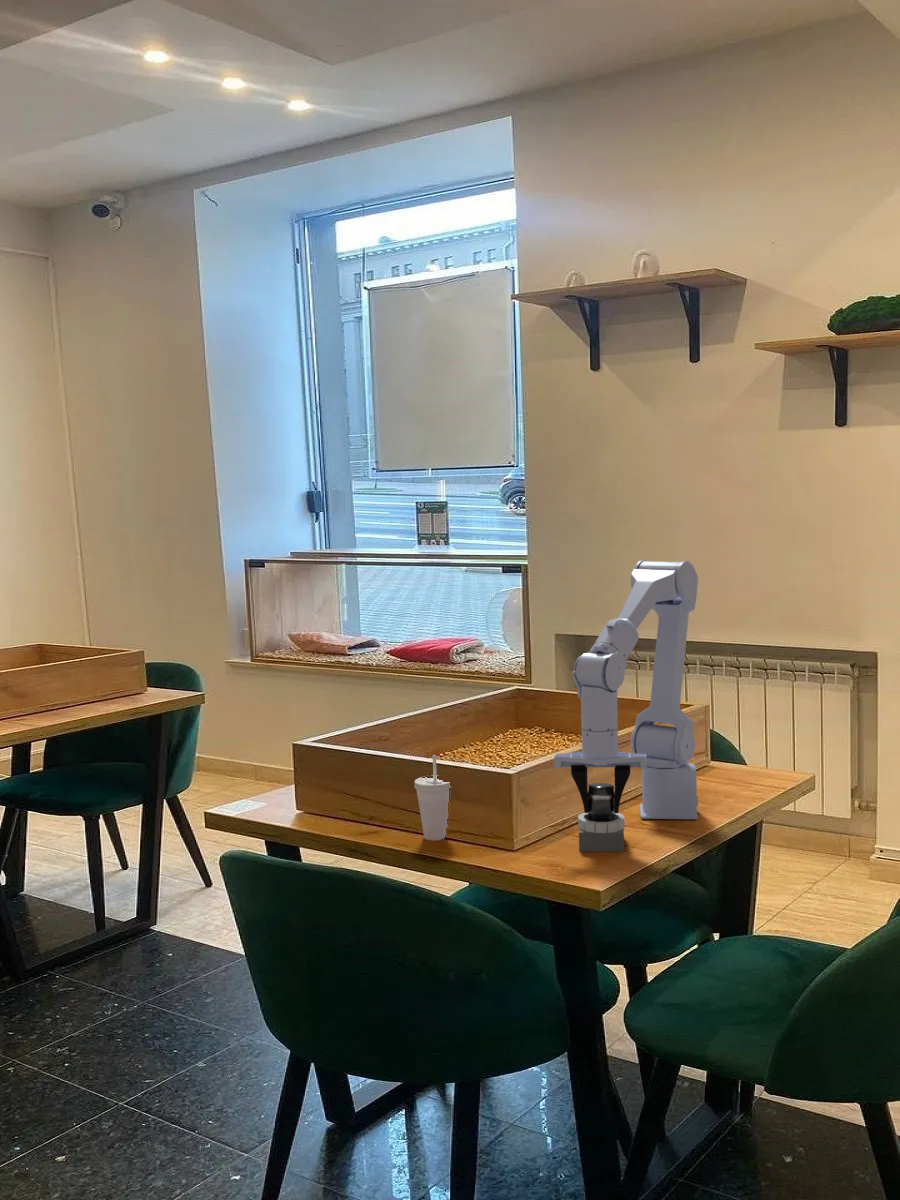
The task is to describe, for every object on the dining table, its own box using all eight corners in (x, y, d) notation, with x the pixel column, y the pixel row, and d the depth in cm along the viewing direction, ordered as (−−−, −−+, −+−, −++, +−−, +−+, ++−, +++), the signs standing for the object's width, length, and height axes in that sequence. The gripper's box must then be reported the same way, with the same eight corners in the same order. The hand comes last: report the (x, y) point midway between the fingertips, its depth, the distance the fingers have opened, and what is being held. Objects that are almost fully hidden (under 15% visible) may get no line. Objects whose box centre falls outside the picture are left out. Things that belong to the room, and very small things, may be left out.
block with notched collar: (624, 837, 184) (624, 810, 184) (625, 851, 177) (624, 824, 177) (579, 836, 185) (579, 810, 185) (578, 851, 178) (577, 823, 178)
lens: (613, 819, 183) (613, 783, 182) (615, 826, 179) (615, 789, 178) (587, 818, 183) (587, 782, 183) (588, 826, 179) (588, 789, 179)
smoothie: (429, 845, 183) (426, 761, 182) (408, 836, 189) (405, 754, 187) (462, 838, 187) (459, 755, 186) (440, 828, 192) (438, 748, 191)
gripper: (552, 733, 177) (554, 818, 178) (646, 733, 174) (647, 819, 176) (554, 723, 184) (556, 805, 185) (645, 723, 181) (646, 806, 183)
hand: (601, 811), depth 181 cm, fingers closed on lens, 4 cm apart
